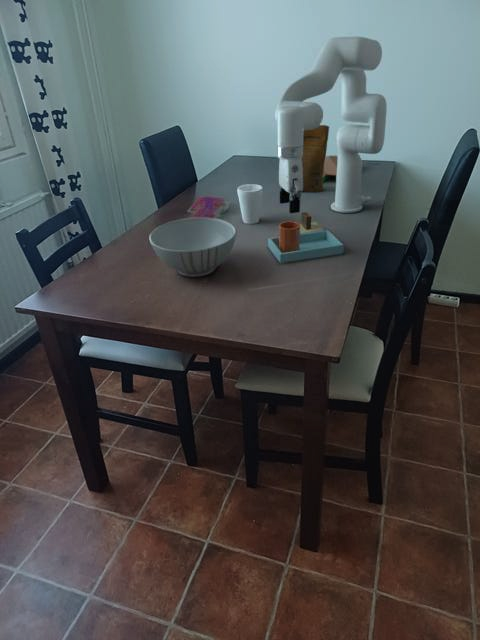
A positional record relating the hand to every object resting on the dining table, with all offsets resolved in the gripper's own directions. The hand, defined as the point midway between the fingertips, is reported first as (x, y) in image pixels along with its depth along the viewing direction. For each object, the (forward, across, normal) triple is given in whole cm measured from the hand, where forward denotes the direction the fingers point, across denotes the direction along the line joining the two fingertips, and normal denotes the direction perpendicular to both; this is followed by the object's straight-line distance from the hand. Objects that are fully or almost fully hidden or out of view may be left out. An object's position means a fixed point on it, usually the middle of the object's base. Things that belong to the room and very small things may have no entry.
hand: (289, 207), depth 150 cm
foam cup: (+16, +34, +4) cm, 37 cm away
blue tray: (+16, 0, -6) cm, 17 cm away
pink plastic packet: (+16, +46, +19) cm, 52 cm away
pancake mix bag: (+15, +60, -28) cm, 68 cm away
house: (+15, +82, -48) cm, 96 cm away
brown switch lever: (+13, +13, -11) cm, 21 cm away
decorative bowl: (+16, 0, +31) cm, 35 cm away
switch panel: (+16, +12, -10) cm, 22 cm away
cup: (+15, 0, 0) cm, 15 cm away
